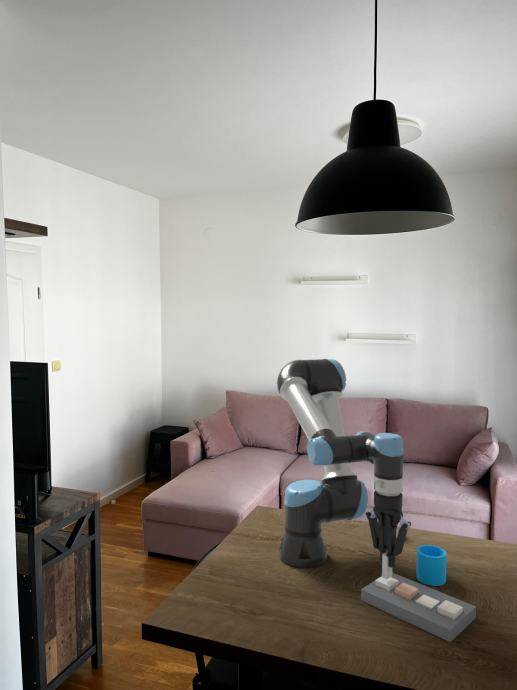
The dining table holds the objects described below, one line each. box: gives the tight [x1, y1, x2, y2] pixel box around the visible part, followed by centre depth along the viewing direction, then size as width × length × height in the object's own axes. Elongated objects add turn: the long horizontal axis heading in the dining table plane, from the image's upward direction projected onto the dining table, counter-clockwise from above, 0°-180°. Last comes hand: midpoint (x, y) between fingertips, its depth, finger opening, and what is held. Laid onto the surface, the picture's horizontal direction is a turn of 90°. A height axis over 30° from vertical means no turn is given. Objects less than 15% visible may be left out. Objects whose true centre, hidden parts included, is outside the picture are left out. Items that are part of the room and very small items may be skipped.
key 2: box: [395, 583, 418, 600], centre depth 138 cm, size 4×4×3 cm
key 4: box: [437, 600, 463, 620], centre depth 129 cm, size 4×4×3 cm
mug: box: [416, 544, 447, 587], centre depth 153 cm, size 12×8×8 cm
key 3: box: [415, 595, 440, 610], centre depth 134 cm, size 4×4×3 cm
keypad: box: [360, 572, 477, 643], centre depth 136 cm, size 25×14×3 cm, turn 44°
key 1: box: [374, 575, 398, 592], centre depth 142 cm, size 4×4×3 cm
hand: (387, 576), depth 142 cm, fingers closed
